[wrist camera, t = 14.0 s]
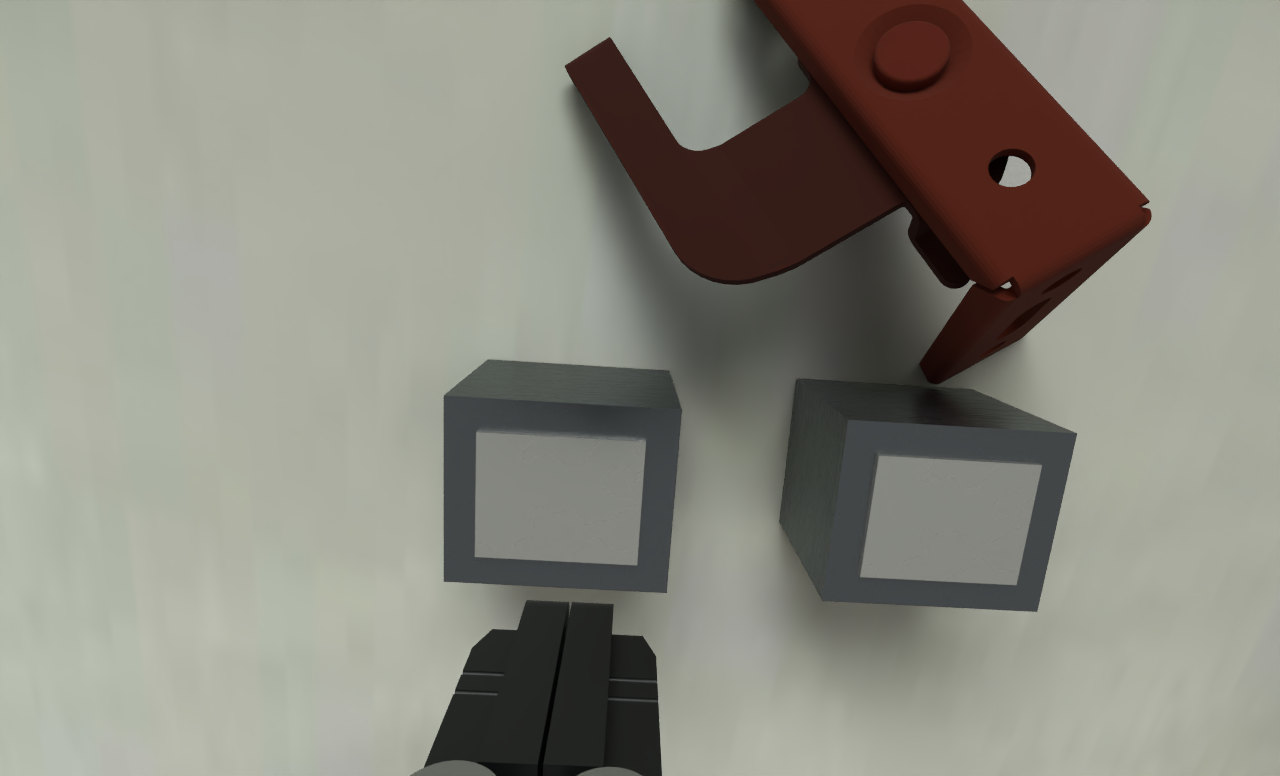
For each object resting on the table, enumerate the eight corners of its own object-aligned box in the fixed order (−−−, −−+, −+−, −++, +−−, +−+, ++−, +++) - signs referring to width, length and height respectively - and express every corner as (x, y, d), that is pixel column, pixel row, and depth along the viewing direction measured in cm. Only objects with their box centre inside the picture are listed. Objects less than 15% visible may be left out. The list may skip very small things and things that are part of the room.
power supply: (669, 370, 25) (682, 411, 19) (657, 520, 26) (666, 603, 20) (487, 359, 25) (441, 396, 18) (485, 510, 26) (441, 591, 20)
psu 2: (972, 389, 25) (1081, 435, 19) (945, 535, 27) (1039, 621, 20) (796, 378, 25) (850, 421, 19) (778, 526, 26) (823, 611, 20)
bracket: (789, 466, 26) (782, 426, 16) (630, 198, 30) (551, 45, 21) (1029, 333, 25) (1170, 208, 15) (827, 76, 29) (839, -144, 20)
